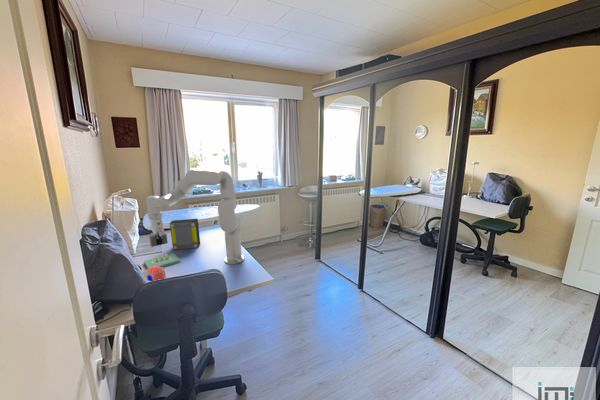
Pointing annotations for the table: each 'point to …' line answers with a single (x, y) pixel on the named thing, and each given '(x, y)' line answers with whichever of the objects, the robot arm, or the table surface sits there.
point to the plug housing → (154, 242)
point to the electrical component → (185, 233)
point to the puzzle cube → (154, 273)
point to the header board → (162, 260)
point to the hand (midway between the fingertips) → (158, 243)
